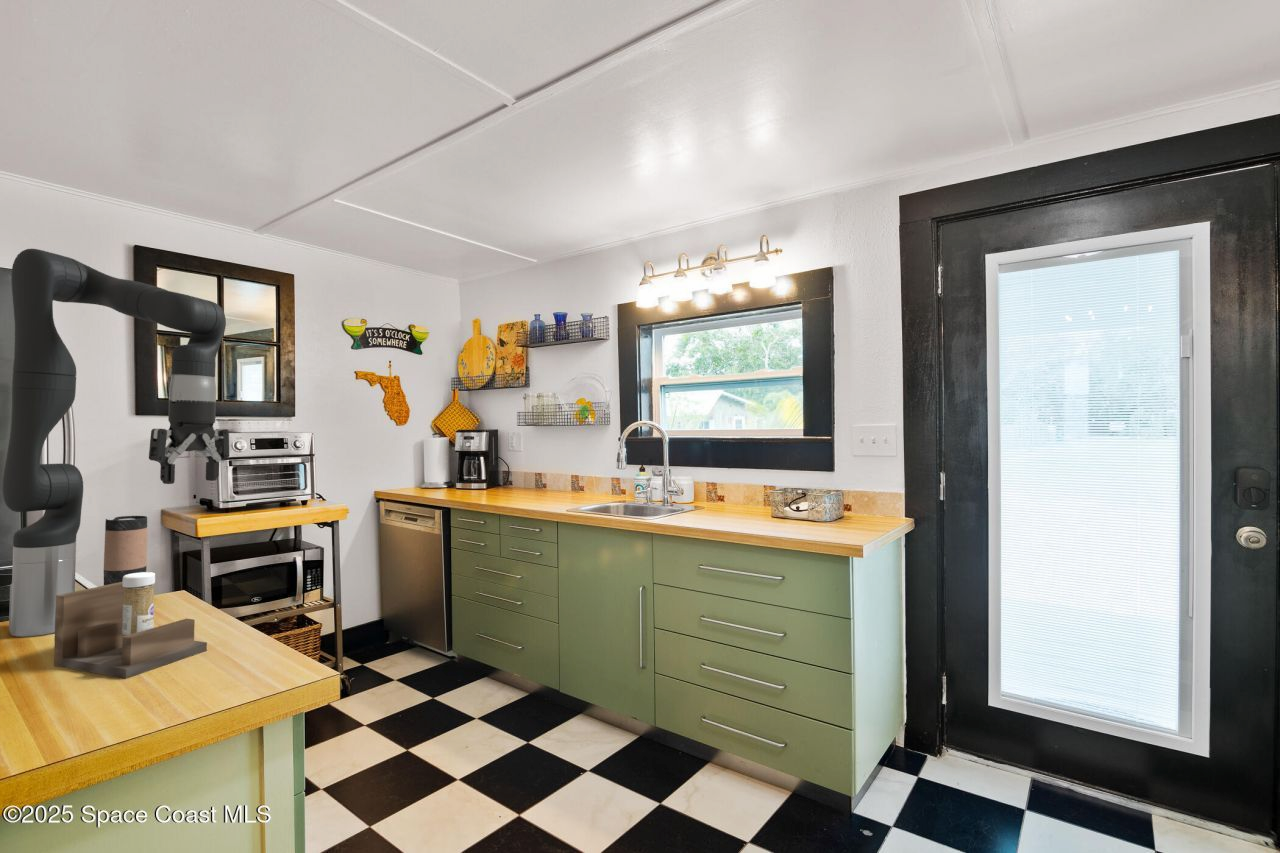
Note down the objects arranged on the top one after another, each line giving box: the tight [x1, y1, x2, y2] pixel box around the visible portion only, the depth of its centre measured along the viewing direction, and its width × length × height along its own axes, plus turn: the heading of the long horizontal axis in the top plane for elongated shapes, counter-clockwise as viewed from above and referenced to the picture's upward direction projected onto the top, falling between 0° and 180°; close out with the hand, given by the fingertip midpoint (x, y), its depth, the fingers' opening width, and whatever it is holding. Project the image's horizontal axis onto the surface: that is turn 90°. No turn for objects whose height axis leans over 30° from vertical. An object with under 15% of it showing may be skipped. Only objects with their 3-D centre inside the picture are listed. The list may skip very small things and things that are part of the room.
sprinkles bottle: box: [122, 571, 156, 637], centre depth 112 cm, size 5×5×14 cm
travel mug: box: [103, 515, 148, 586], centre depth 144 cm, size 8×8×20 cm
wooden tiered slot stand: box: [53, 582, 208, 679], centre depth 112 cm, size 17×14×12 cm
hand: (190, 482), depth 123 cm, fingers open, 8 cm apart
